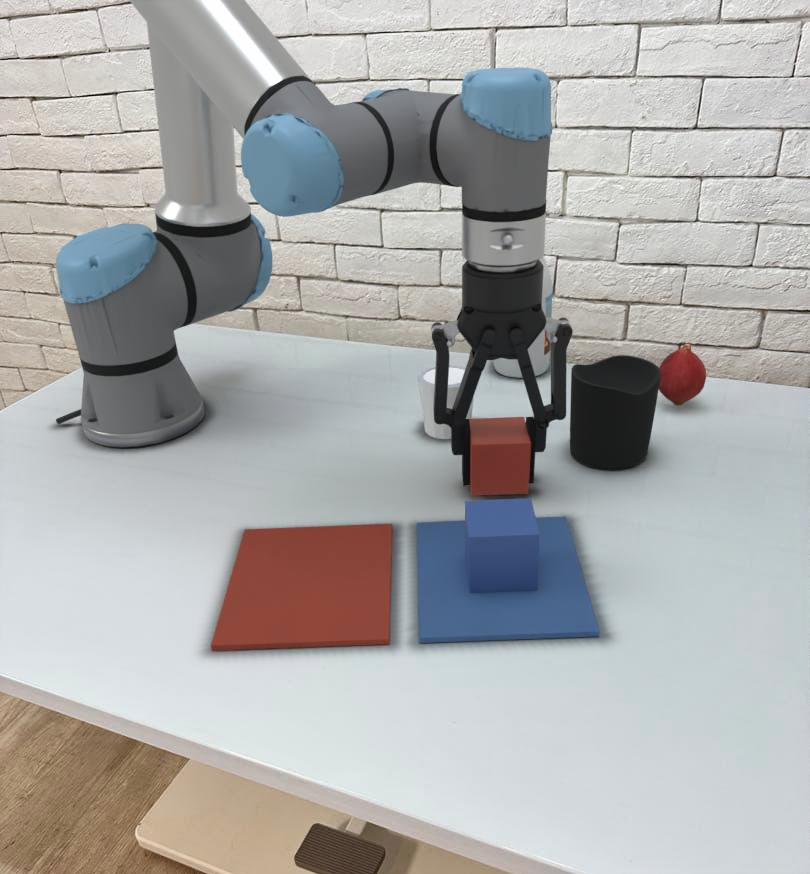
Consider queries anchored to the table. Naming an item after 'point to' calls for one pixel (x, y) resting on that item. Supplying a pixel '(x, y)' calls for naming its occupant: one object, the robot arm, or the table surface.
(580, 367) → the pen holder
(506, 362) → the milk bottle
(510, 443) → the red block
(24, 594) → the table surface
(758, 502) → the table surface
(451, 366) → the white cup
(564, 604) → the blue mat
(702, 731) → the table surface
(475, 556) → the blue block
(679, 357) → the pomegranate
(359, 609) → the red mat
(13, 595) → the table surface
